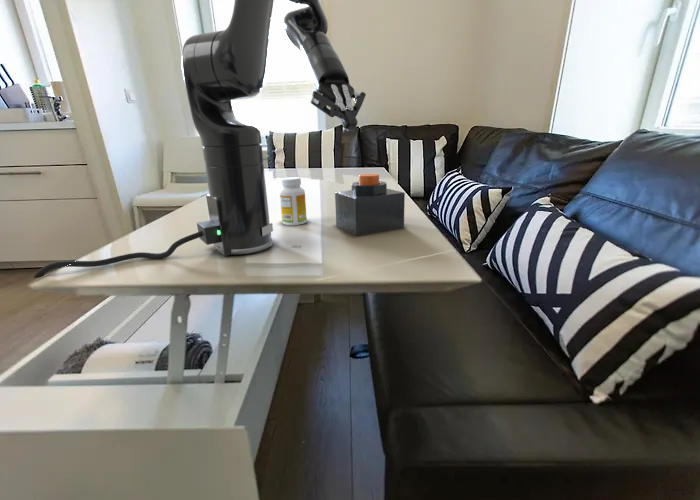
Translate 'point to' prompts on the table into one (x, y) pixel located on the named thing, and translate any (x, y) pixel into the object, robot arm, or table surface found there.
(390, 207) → the push button base
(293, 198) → the supplement bottle
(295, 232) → the table surface
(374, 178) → the orange push button
